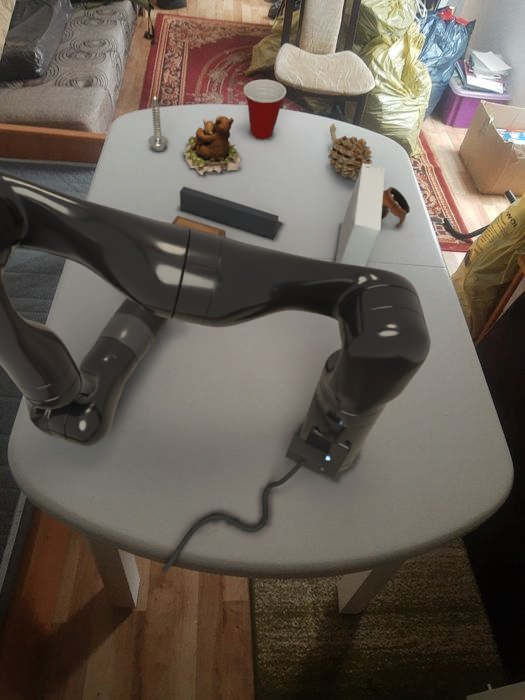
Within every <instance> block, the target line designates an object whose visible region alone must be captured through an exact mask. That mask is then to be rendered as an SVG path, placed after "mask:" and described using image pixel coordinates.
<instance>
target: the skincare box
mask: <svg viewBox="0 0 525 700" xmlns="http://www.w3.org/2000/svg"><path fill="white" fill-rule="evenodd" d="M385 174H386V168H385V167H380V166H377V165H372V164H365V163H362V166H361V169H360V172H359V175H358V178H357V180H355V181H356V182H355V184H354V188H353V190H352V193H351V195H350V198H349V201H348V205H347V207H346V210H345V213H344V217H343V220H342V221H341V225H340V232H339V238H338V244H337V250H336V256H335V262H337V263H344V264H351V265H358V266H365V267H366V265H367V263H368V261H369V258H370V255H371V253H372V251H373V248H374V246H375V244H376V241H377V239H378V236H379V234H380V232H381V229H382V228H381V227H382V220H381V216H382V202H383V191H384V190H385V189H384V188H385V187H384V186H385Z"/></svg>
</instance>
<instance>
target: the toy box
mask: <svg viewBox="0 0 525 700" xmlns="http://www.w3.org/2000/svg"><path fill="white" fill-rule="evenodd" d="M170 224H175V225H180V226H184V227H188V228H189V229H190V228H193V229H197V230H201V231H205V232H208V233H212V234H216V235H219V236H223V237H226V235H227V230H225V229H222V228H219V227H216V226H212V225H209V224H206V223H202V222H199V221H196V220H192V219H190V218H186V217H183V216H180V215H176V217H175V218H174V220H173V221H171V223H170Z"/></svg>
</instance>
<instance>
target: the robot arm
mask: <svg viewBox="0 0 525 700" xmlns="http://www.w3.org/2000/svg"><path fill="white" fill-rule="evenodd" d="M17 248H20V249H26V250H32V251H37V252H41V253H46V254H49V255H51V256H57V257H59V258H64V259H66V260H69V261H72V262H74V263H76V264H78V265H80V266H83V267H85V268H86V269H88V270H89V271H91V272H92V273H93V274H95V275H97V276H98V277H99V278H101V279H102V280H103V281H104V282H105V283H107V284H108V286H110V287H112V288H113V289H114V290H116V291H117V292H118V293H119V294H120V295H122V296H123V297H124V300H123V302H122V303H121V304H120V306H119V307H118V308H117V309H116V311H115V312H114V313H113V315H112V317H110V319H109V320H108V322H106V325H105V326H103V329H102V330H101V332H100V335H99V336H98V338H97V339H96V341H95V342H94V343H93V344H92V346H91V347H90V349H89V350H88V351H87V353H86V354H85V355H84V357H83V359H82V360H81V361H80V363H79V367H78V365H77V363H76V361H75V360H74V358H73V356H72V354H71V353H70V350H69V348H68V347H67V345H66V343H65V342H64V341H63V339H62V338H61V337H60V335H59V334H58V333H57V332H56V331H55V330H53V329H52V328H51V327H49V326H47V325H46V324H44V323H42V322H40V321H37V320H34V319H31V318H27V317H25V316H23V315H21V314H20V313H19V312H18V311H17V309H16V308H15V306H14V305H13V303H12V301H11V298H10V296H9V293H8V291H7V288H6V285H5V283H4V279H3V275H4V273H5V271H6V270H7V268H8V266H9V264H10V261H11V259H12V257H13V255H14V253H15V252H16V249H17ZM422 307H423V306H422V304H421V299H420V297H419V294H418V291H417V290H416V288H415V286H414V284H413V283H412V282H411V281H410V280H409V279H408V278H407V277H404V276H403V275H401V274H399V273H397V272H394V271H390V270H387V269H382V268H376V267H372V266H371V267H370V266H366V265H365V266H358V265H351V264H344V263H337V262H336V261H329V260H322V259H316V258H311V257H306V256H302V255H297V254H293V253H290V252H285V251H282V250H281V251H280V250H276V249H272V248H268V247H263V246H259V245H254V244H250V243H246V242H242V241H239V240H236V239H232V238H229V237H223V236H219V235H216V234H212V233H208V232H205V231H201V230H197V229H193V228H190V229H189V228H188V227H184V226H180V225H175V224H171V223H169V222H166V221H162V220H157V219H153V218H150V217H147V216H143V215H139V214H135V213H133V212H129V211H125V210H121V209H118V208H115V207H111V206H108V205H104V204H100V203H97V202H93V201H90V200H87V199H84V198H80V197H77V196H75V195H71V194H69V193H66V192H62V191H60V190H57V189H54V188H52V187H49V186H46V185H43V184H41V183H38V182H36V181H32V180H30V179H27V178H24V177H21V176H19V175H15V174H13V173H10V172H7V171H5V170H1V169H0V367H2V369H4V371H5V372H6V373H7V375H8V376H9V377H10V379H11V381H13V382H14V384H15V385H16V387H17V388H18V389H19V391H20V392H21V394H22V395H23V396H24V398H25V404H26V408H27V412H28V417H29V419H30V422H31V423H32V425H33V426H34V427H35V428H36V429H38V430H39V431H40V432H41V433H43V434H46V435H48V436H50V437H53V438H57V439H60V440H63V441H65V442H68V443H71V444H74V445H77V446H80V447H86V448H88V447H93V446H96V445H97V444H99V443H100V442H101V441H103V440H104V439H105V438H106V437H107V435H108V434H109V433H110V431H111V429H112V425H113V423H114V419H115V415H116V411H117V407H118V403H119V402H120V401H119V400H120V398H121V395H122V393H123V389H124V387H125V385H126V382H127V381H128V379H129V378H130V376H131V375H132V373H133V372H134V370H135V368H136V367H137V365H138V364H139V363H140V361H141V360H142V359H143V358H144V357H145V356H146V354H147V353H148V352H149V350H150V349H151V348H152V347H153V345H154V342H155V341H156V339H157V338H158V336H159V335H160V333H161V332H162V330H163V328H164V327H165V325H166V324H167V321H168V320H169V319H171V320H174V321H179V322H182V323H187V324H188V323H189V324H192V325H196V326H197V325H199V326H203V327H210V328H228V327H233V326H237V325H238V326H239V325H242V324H245V323H248V322H252V321H254V320H257V319H258V320H259V319H261V318H264V317H267V316H270V315H274V314H278V313H281V312H291V311H294V312H304V313H310V314H316V315H319V316H320V315H321V316H324V317H328V318H331V319H333V320H335V321H337V322H338V331H339V338H340V347H341V348H338V349H336V350H335V351H333V352H332V353H331V354H330V355H328V357H327V359H326V360H325V362H324V364H323V367H322V370H321V373H320V376H319V378H318V381H317V384H316V386H315V390H314V393H313V395H312V398H311V401H310V404H309V406H308V410H307V412H306V415H305V418H304V421H303V424H302V426H301V429H300V431H299V434H298V436H297V435H294V436H293V438H292V439H291V442H290V444H289V446H288V447H287V451H286V454H285V458H287V459H288V460H290V461H292V462H295V463H296V464H295V466H293V467H292V469H291V470H290V471H289V472H287V473H286V474H285V475H284V476H283V477H282V478H280V479H279V480H276V481H272V482H271V483H269V484H267V486H266V487H265V489H264V491H263V493H262V519H261V522H259V523H258V524H257V525H253V526H249V525H246V524H244V523H242V522H240V521H238V520H236V519H235V518H233V517H231V516H229V515H227V514H222V513H215V514H214V513H213V514H210V515H207V516H206V517H204V518H202V519H200V520H199V521H198V522H196V523H195V524H194V525H193V526H192V527H190V529H189V530H188V531H187V532H186V534H185V536H184V537H183V538H182V539H181V541H180V542H179V544H178V546H177V547H176V549H175V550H174V552H173V553H172V554H171V556H170V557H169V559H168V560H167V562H166V563H165V564H164V566H163V567H162V568H161V573H162V574H165V573H167V572H168V571H169V569H170V568H171V567H172V566H173V564H174V563H175V561H176V560H177V559H178V557H179V556H180V554H181V552H182V551H183V549H184V548H185V546H186V545H187V543H188V542H189V540H190V539H191V537H192V536H193V535H194V534H195V532H196V531H197V530H199V528H201V527H202V526H203V525H205V524H207V523H209V522H211V521H214V520H221V521H225V522H227V523H229V524H231V525H233V526H234V527H236V528H238V529H239V530H240V529H241V530H242V531H245V532H249V533H254V532H258V531H261V530H262V529H263V528H264V527H266V525H267V524H268V519H269V505H268V497H269V493H270V492H271V490H272V489H273V488H276V487H280V486H282V485H283V484H285V483H286V482H287V481H288V480H290V479H291V478H292V477H293V476H294V475H296V473H297V472H298V471H299V470H300V469H302V467H305V468H306V469H309V470H311V471H313V472H315V473H317V474H320V473H321V472H322V473H324V474H326V475H328V476H330V477H332V478H337V476H338V475H339V473H340V472H343V471H345V470H347V469H348V468H350V467H351V465H352V464H353V463H354V461H355V460H356V458H357V456H358V454H359V452H360V450H361V448H363V446H364V444H365V441H366V440H367V438H368V436H369V435H370V433H371V432H372V429H373V428H374V426H375V425H376V423H377V421H378V420H379V418H380V416H381V415H382V413H383V411H384V410H385V408H386V406H387V405H388V403H390V402H393V400H395V399H396V398H398V397H399V396H400V395H402V393H403V392H404V391H405V390H406V389H407V387H408V386H409V384H410V383H411V381H412V380H413V379H414V378H415V376H416V374H417V373H418V372H419V371H420V369H421V368H422V367H423V365H424V363H425V362H426V360H427V358H428V356H429V353H430V349H431V336H430V333H429V328H428V325H427V322H426V317H425V315H424V311H423V308H422ZM83 380H84V381H85V382H86V383H87V384H89V385H90V386H92V387H93V388H94V389H95V390H94V391H93V392H92V393H88V392H85V391H82V388H83Z"/></svg>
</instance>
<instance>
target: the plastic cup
mask: <svg viewBox="0 0 525 700" xmlns="http://www.w3.org/2000/svg"><path fill="white" fill-rule="evenodd" d="M243 93H244V95H245V97H246V102H247V109H248V119H249V127H250V128H249V129H250V130H249V131H250V134H251V136H252V137H253V138H255V139H259V140H268V139H270V138H271V137H272V135H273V133H274V129H275V126H276V124H277V120H278V117H279V114H280V110H281V106H282V103H283V100H284V97H286V94H287V89H286V87H285V86H284V85H283V84H282V83H280V82H278V81H276V80H272V79H256V80H251V81H250V82H247V83H246V84H245V86H244V87H243Z"/></svg>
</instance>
